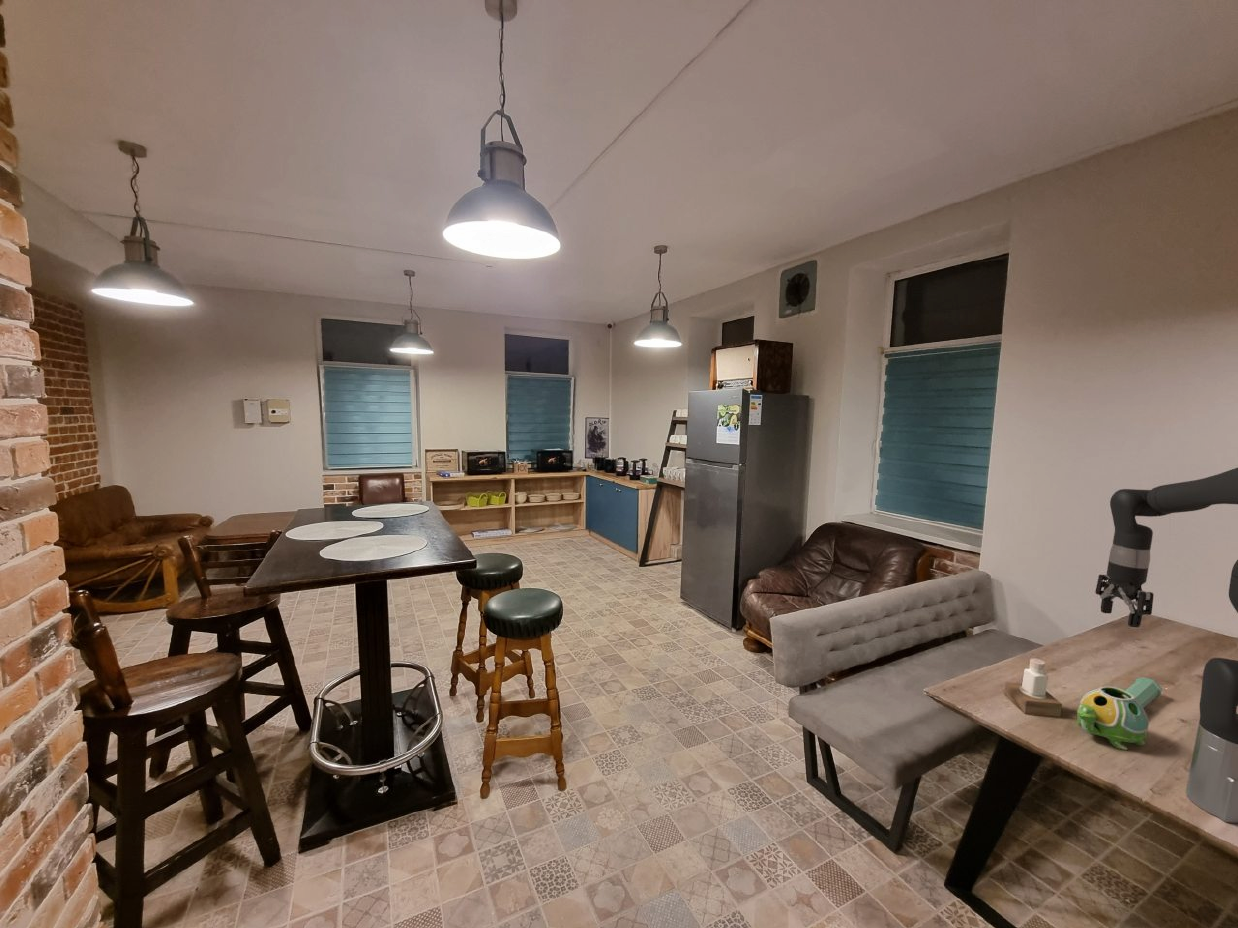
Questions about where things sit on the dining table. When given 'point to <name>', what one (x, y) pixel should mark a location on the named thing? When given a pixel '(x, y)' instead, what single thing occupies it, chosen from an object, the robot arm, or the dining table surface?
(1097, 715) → the turtle holder
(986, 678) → the dining table surface
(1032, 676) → the salt shaker
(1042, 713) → the base
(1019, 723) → the dining table surface
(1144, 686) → the container
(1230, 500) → the robot arm
